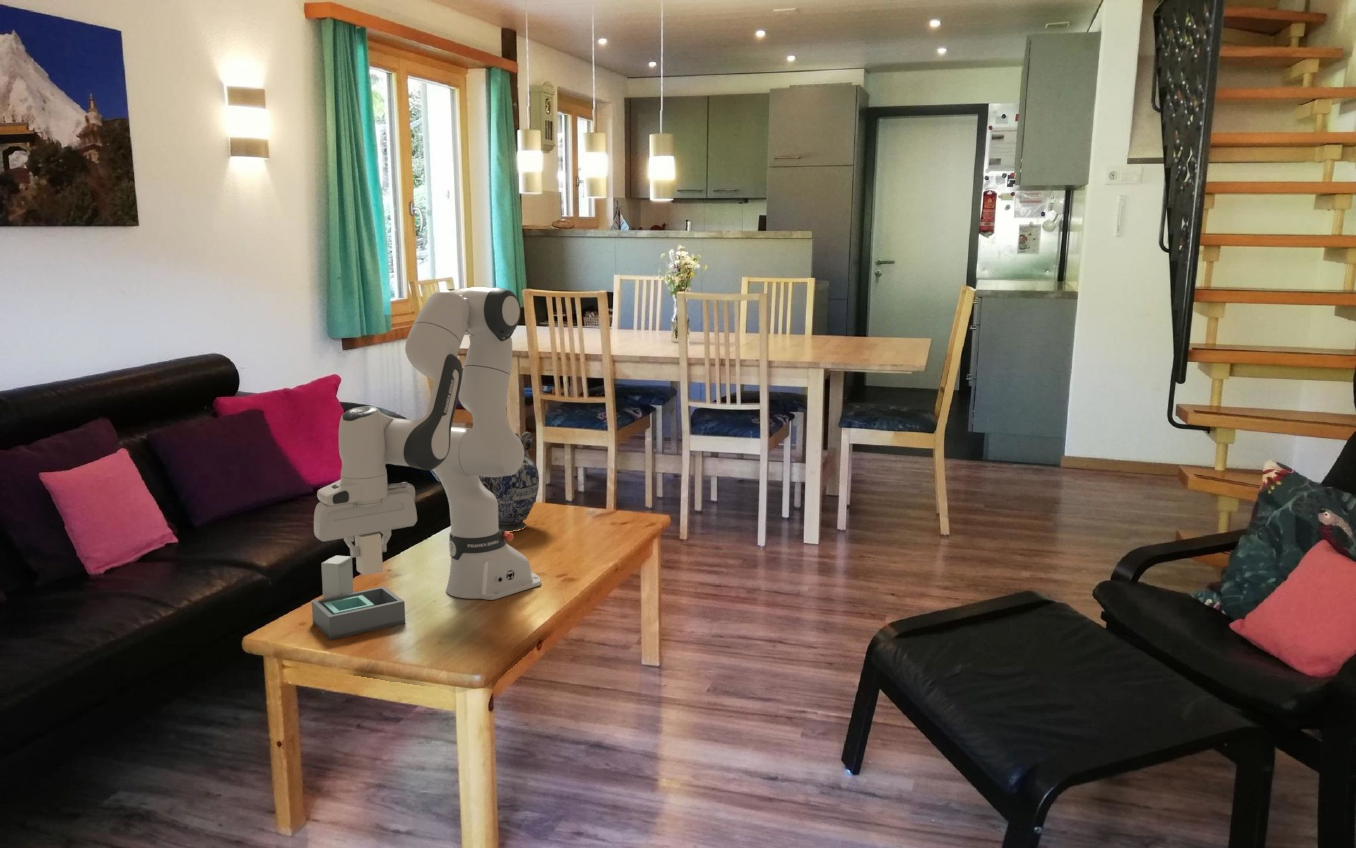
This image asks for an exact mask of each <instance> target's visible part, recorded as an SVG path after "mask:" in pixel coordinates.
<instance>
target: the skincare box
mask: <svg viewBox="0 0 1356 848" xmlns="http://www.w3.org/2000/svg"><path fill="white" fill-rule="evenodd" d="M353 577H354V574H353V557H351V555H350V556H349V555H347V556H346V555H337V554H336V555H334V556H332V557H330V558H328V559H327V560H325V561H323V562H321V581H322V583H321V584H322V585H321V586H322V587H321V588H322V599H324V598H329V597H334V596H338V595H343V594H348V593H353V592H354V578H353Z"/></svg>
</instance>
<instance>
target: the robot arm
mask: <svg viewBox="0 0 1356 848" xmlns="http://www.w3.org/2000/svg"><path fill="white" fill-rule="evenodd" d="M521 311H522V310H521V303H520V301H519V299H518V297H517V296H516V293H515V292H514V291H512V290H510V289H507V288H503V287H487V286H485V287H484V286H471V287H465V288H457V289H455V288H448V289H441V290H437V291H434V292H433V293H432V294H430V296H429V297H428V299H427V300H426V301H425V302H424V304H423V305H422V307H421V309H420V310H419V312H418V314H417V316H416V318H415V320H414V322H413V324H412V326H411V328H410V330H409V333H408V335H407V337H406V340H405V347H404V349H405V354H406V357H407V360H408V361H409V363H410V364H411V365H412V367H413V368H414V369H416V370H417V371H418V372H419V373H421V374H422V375H424V376H426V377H427V378H429V379H431V380H432V382H433V386H432V391H431V395H430V399H429V403H428V408H427V411H426V414H425V415H424V416H423V417H422V418H420V419H405V418H397V417H393V416H389V415H387V414H385V413H382V412H381V411H380V409H379V408H378V407H376V406H372V405H371V406H370V405H364V406H363V405H362V406H359V407H353V408H350V409H348V410H346V411H345V412H344V413H342V415H341V417H340V419H339V426H338V451H339V453H338V454H339V457H340V459H341V460H340V461H341V469H340V479H338V480H336V481H334V482H332V483H331V484H328V485H326V486H324V487H321V488H320V489H318V490H317V491H316V492H317V493H316V497H317V498H318V500H319V502H318V503H317V504H316V506H315V509H314V515H313V533H314V534H313V535H314V536H315V537H316V538H317V539H318V540H319V541H321V542H330V541H335V540H341V539H343V541H344V542H345V544H346V546H347V547H348V548H349V555H350V557H352V559H353V558H356V557H359V556H360V548H358V547H357V546H356V547H355V544H353V542H355V536H359V535H364V534H370V533H375V532H379V533H380V534H382V535H381V546H382V553H386V552H387V550H388V549H387V547H388V546H387V544H388V542H389V540H390V538H391V536H392V530H397V529H403V528H407V527H408V528H409V527H414V526H415V525H416V524H417V522H418V515H417V508H416V503H415V498H416V489H415V487H414V485H413V484H411V483H408V482H407V481H402V482H400V483H399V482H398V483H388V473H387V468H386V467H387V466H386V465H388V464H389V465H394V466H403V467H411V468H415V469H420V470H423V471H432V472H433V473H435V476H436V477H437V478H438V480H439V481H440V483H441V484H442V485H441V486H442V487H443V489H444V492H445V494H446V497H447V501H448V505H449V507H448V508H449V518H450V519H449V520H450V532H449V534H448V535H449V538H448V539H449V541H448V542H449V543H448V547H449V556H450V569H449V576H448V580H447V581H448V582H447V586H446V589H445V591H446V593H447V595H450V596H451V597H455V598H459V599H460V598H461V599H481V600H488V601H489V600H490V601H491V600H493V601H494V600H498V599H500V598H503V597H507V596H510V595H514V594H516V593H519V592H523V591H525V590H526V591H527V590H528V589H529V590H530V589H531V588H535V587H538V586H540V585H542V582H541V578H540V576H539V575H538V574H536V573H535V572H532V569H531V565H530V562H529V560H528V558H527V557H526V556H525V555H524V554H523V553H521V552H520V551H518V550H517V549H516V548H514V547H512V546H511V545H509V544H508V543H507V542H511V541H513V539H514V534H513V532H511V533H510V532H508V531H507V532H505V531H503V530H500V529H499V527H498V502H497V499H496V497H495V495H494V494H493V493H492V492H490V491H489V490H488V489H486V488H485V487H484V485H483V484H482V482H481V481H480V478H479V476H485V477H503V476H510V475H513V474H515V473H516V472H517V471H518V470H519V469H520V467H521V465H522V463H523V460H524V447H523V444H522V442H521V440H520V439H519V438H518V436H517V435H516V434H515V433H516V432H514V430H513V429H512V427H511V424H510V422H509V418H508V414H507V400H508V390H509V384H510V379H511V373H512V365H513V339H512V336H513V334H514V332H515V330H516V329H517V327H518V325H519V322H520V319H521V313H522V312H521ZM464 336H468V337H469V346H468V349H467V352H466V356H465V359H464V363H463V364H462V361H461V360H460V359H459V358H458V355H459V350H460V347H461V345H462V343H463V339H464ZM458 400H459V403H460V404H461V406H462V407H463V408H464V409H465V410H467V412H469V413H470V414H471V417H472V428H471V427H462V426H458V427H457V426H453V421H454V417H455V412H456V408H457V404H458ZM506 541H507V542H506Z"/></svg>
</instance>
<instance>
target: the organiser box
mask: <svg viewBox="0 0 1356 848" xmlns="http://www.w3.org/2000/svg"><path fill="white" fill-rule="evenodd" d="M360 595H363V596H364V597H365V598H366V599H368V600H369V601H370V602H371V603H373V604H374V606H372V607H367V608H362V609H357V610H353V611H348V612H343V613H339V614H334V615H332V614H331V613H330V612H329V611H328V610H327V609H326V608H325V607H324V605H323V603H326V602H331V601H336V600H341V599H345V598H350V597H355V596H360ZM405 606H406V605H405V600H404V599H402V598H401V597H400V596H398V595H397V594H396V593H394V592H393V591H392V590H390V589H389V588H387V587H386V586H383V585H382V586H378V587H375V588H369V589H364V590H360V591H353V593H348V594H343V595H338V596H334V597H329V598H324V599H323V598H319V599H316V600H315V599H314V600H311V610H312V611H311V612H312V615H311V616H312V624H313V625H315V626H316V628H317V629H319V631H320V632H321V633H323V634H324V636H325V637H326V638H328V639H329V641H334V640H337V639H342V638H347V637H350V636H351V637H352V636H356V635H359V634H364V633H368V632H373V631H378V630H381V629H382V630H383V629H386V628H390V627H394V626H399V625H404V624H406V608H405Z"/></svg>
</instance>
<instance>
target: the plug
mask: <svg viewBox="0 0 1356 848" xmlns="http://www.w3.org/2000/svg"><path fill="white" fill-rule="evenodd" d="M381 534H382V533H381V532H375V533H370V534H364V535H359V536H354V547H356V546H357V547H358V548H360V556H359V557H355V560H356V561H355V564H356V571H357V572H358V573H359V574H361V575H362V576H367V575H374V574H378V573H382V572H384V567H383V566H384V565H383V552H382V546H381V539H382V535H381Z"/></svg>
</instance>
